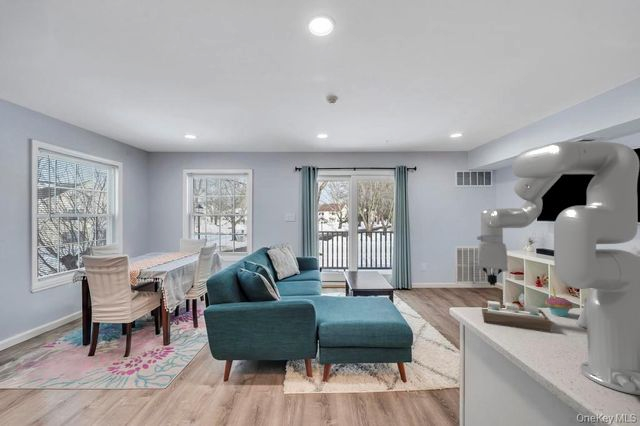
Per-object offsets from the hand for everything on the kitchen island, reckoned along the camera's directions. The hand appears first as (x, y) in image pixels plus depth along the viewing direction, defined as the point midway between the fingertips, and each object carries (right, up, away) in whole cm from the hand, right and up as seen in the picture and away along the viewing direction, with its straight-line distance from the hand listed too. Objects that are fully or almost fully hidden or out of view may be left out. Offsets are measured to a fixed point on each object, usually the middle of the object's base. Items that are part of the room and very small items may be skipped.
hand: (492, 284), depth 110 cm
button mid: (+5, -10, -4) cm, 12 cm away
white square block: (0, -10, -1) cm, 10 cm away
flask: (+29, -13, -11) cm, 33 cm away
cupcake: (+29, -13, +2) cm, 32 cm away
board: (+5, -13, -5) cm, 15 cm away
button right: (+11, -9, -7) cm, 16 cm away
